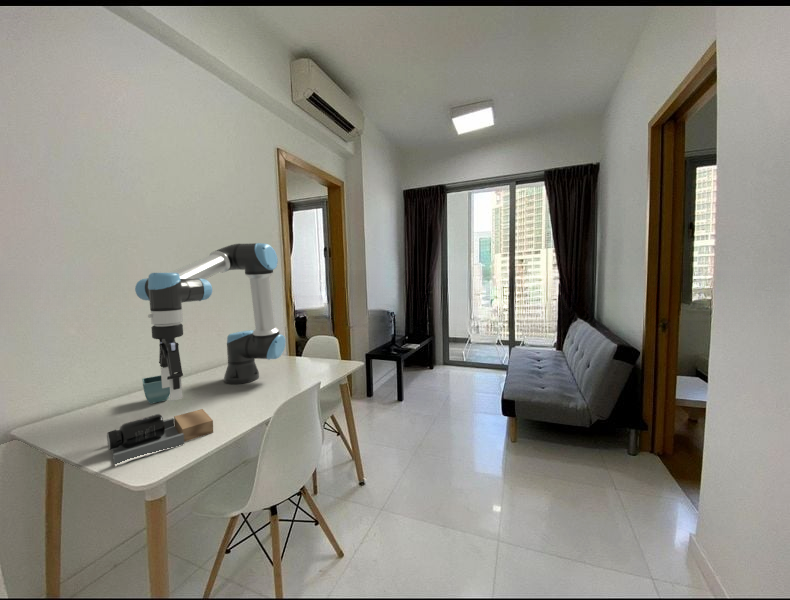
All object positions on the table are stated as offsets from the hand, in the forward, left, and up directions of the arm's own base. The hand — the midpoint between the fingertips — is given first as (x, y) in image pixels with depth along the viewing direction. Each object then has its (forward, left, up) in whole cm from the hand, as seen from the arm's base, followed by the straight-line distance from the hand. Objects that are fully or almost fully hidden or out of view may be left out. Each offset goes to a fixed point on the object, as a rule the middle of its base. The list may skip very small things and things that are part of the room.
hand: (171, 392), depth 92 cm
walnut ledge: (-5, 0, -14) cm, 15 cm away
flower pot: (-1, -38, -14) cm, 40 cm away
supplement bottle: (+2, -2, -10) cm, 10 cm away
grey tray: (+6, 0, -14) cm, 15 cm away
